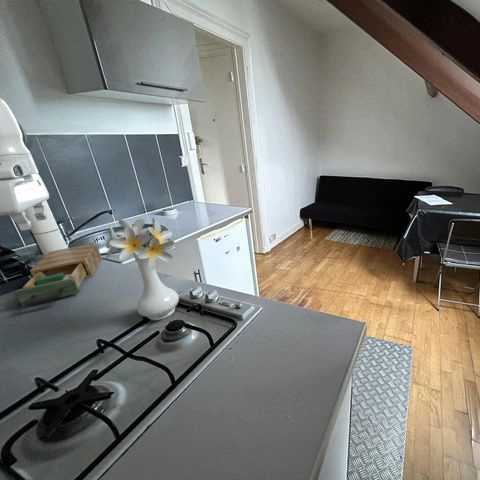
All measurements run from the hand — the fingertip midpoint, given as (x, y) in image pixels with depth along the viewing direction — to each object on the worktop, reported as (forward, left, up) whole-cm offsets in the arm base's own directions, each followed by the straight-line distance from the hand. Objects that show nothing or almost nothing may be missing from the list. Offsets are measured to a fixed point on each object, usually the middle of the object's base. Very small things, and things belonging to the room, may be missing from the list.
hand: (35, 224), depth 66 cm
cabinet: (-5, +26, -24) cm, 35 cm away
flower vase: (+23, -21, -24) cm, 40 cm away
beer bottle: (-19, +58, -24) cm, 66 cm away
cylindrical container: (-13, +43, -24) cm, 51 cm away
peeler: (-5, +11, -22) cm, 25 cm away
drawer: (-5, +10, -23) cm, 25 cm away
